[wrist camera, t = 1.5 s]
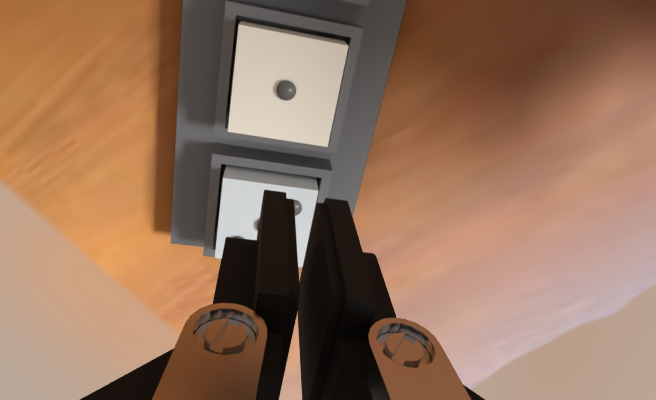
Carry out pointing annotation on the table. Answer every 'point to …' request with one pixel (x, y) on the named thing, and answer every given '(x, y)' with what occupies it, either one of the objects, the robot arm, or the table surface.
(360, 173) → the button board
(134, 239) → the table surface
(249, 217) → the tile three
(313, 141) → the tile one
